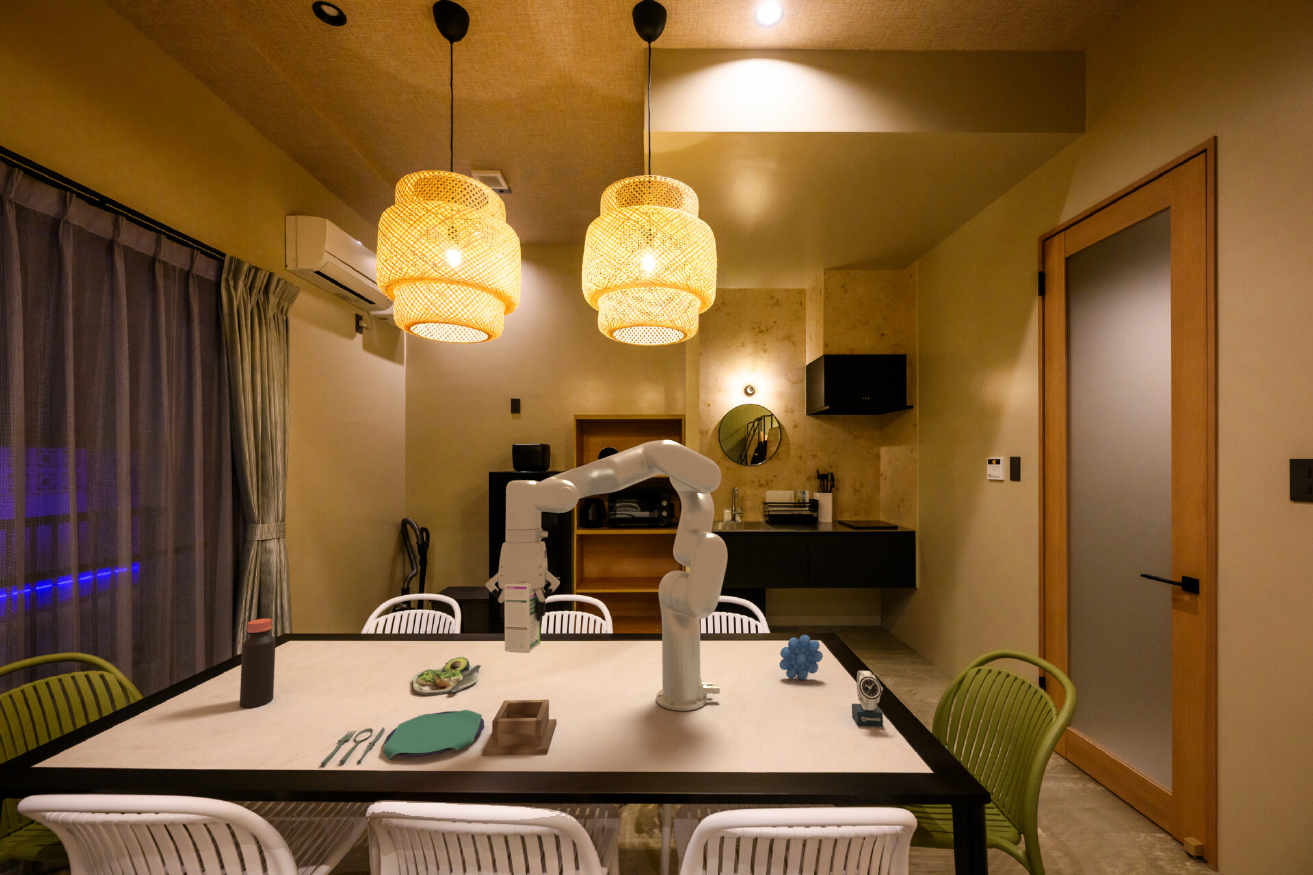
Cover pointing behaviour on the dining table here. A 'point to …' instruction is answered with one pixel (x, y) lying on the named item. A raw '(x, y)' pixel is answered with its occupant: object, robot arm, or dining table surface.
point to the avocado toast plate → (447, 677)
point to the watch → (867, 701)
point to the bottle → (257, 665)
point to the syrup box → (521, 618)
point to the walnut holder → (521, 729)
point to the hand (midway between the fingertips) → (522, 618)
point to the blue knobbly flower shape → (800, 657)
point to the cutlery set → (422, 735)
